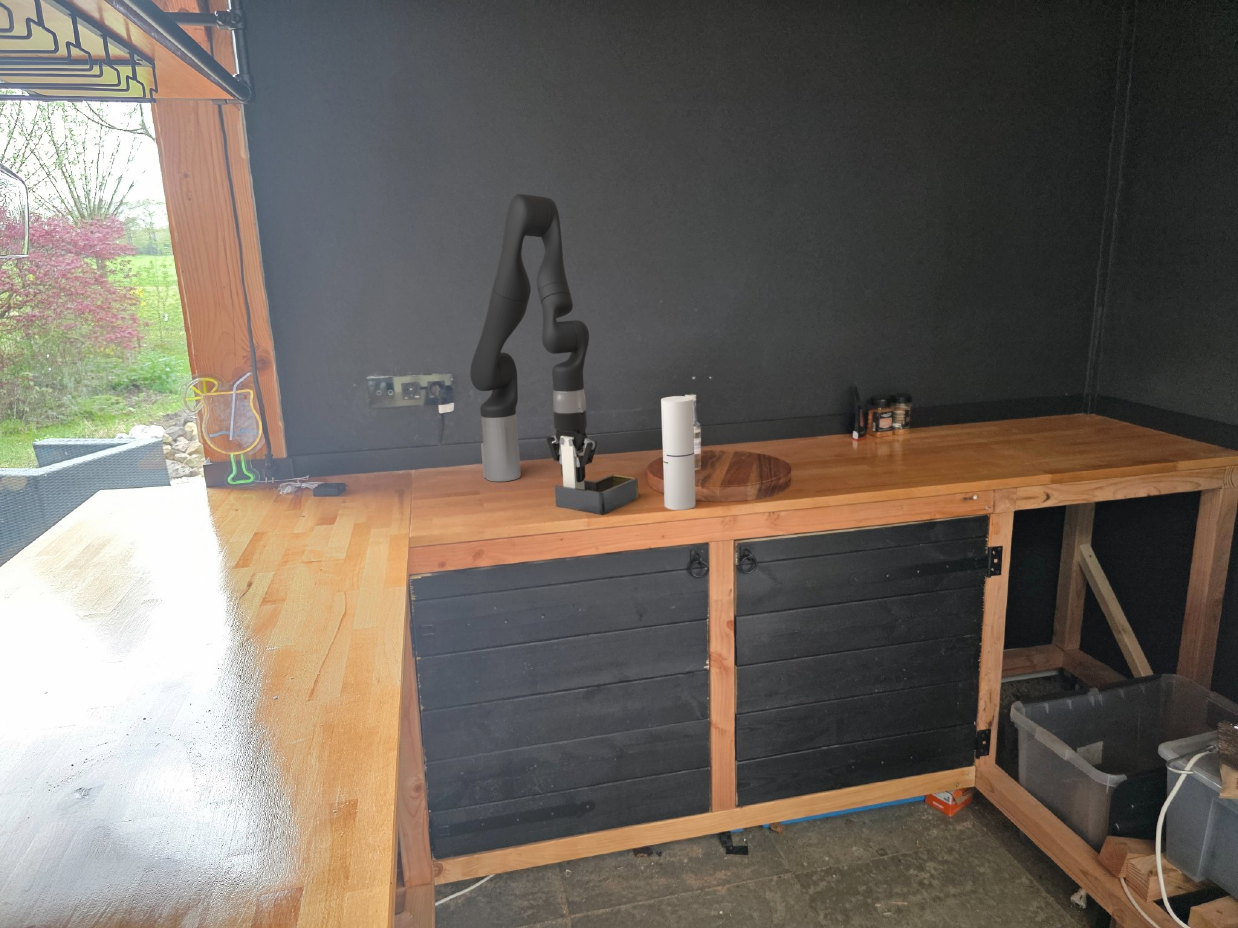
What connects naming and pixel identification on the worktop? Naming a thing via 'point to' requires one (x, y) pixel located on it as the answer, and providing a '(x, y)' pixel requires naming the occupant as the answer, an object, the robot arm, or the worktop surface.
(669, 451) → the cylindrical container
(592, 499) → the dark open tray
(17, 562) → the worktop surface
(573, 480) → the peg
